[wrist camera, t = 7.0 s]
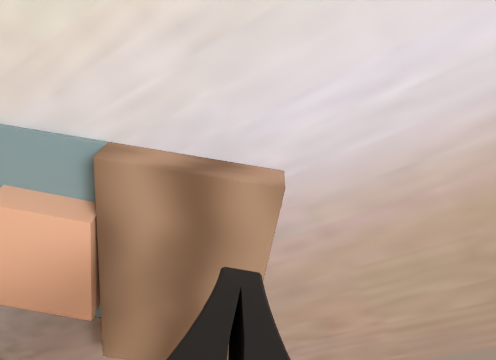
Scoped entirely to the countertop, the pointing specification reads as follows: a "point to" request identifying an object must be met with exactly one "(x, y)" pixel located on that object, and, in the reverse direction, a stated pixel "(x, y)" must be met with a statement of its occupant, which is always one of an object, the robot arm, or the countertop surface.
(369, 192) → the countertop surface
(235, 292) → the robot arm
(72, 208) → the tile
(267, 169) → the deck
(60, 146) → the mat
